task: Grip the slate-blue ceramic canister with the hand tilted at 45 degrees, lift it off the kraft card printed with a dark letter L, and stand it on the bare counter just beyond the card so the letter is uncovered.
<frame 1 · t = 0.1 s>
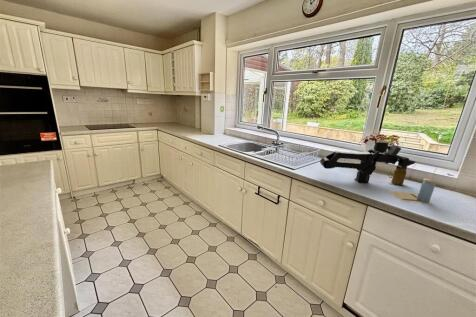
hand: (409, 160, 128), 17 cm above the worktop, tool horizontal, fingers open, 9 cm apart
canister: (422, 200, 110), point 1 cm above the worktop, touching card
condiment: (398, 184, 133), on the worktop
card: (409, 198, 114), on the worktop
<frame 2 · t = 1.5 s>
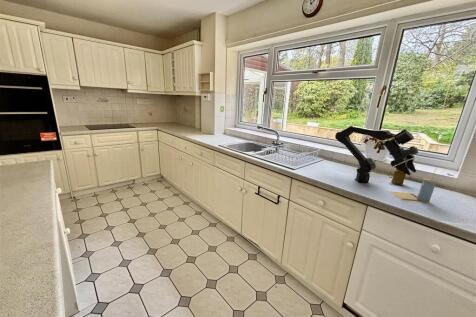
hand: (412, 173, 112), 14 cm above the worktop, tool tilted 45°, fingers open, 9 cm apart
nothing on the worktop moved.
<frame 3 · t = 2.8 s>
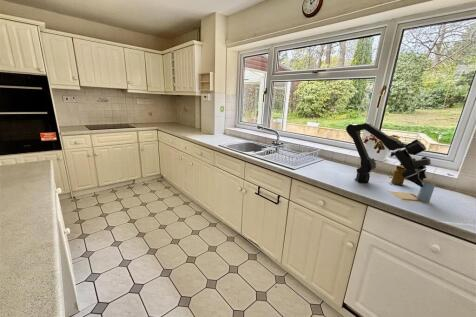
hand: (425, 185, 108), 9 cm above the worktop, tool tilted 45°, fingers open, 9 cm apart
nothing on the worktop moved.
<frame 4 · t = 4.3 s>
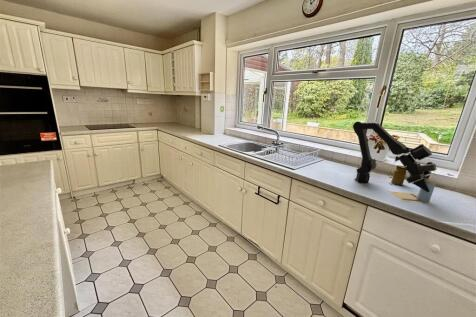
hand: (430, 190, 107), 7 cm above the worktop, tool tilted 45°, fingers closed on canister, 5 cm apart
canister: (422, 200, 110), point 1 cm above the worktop, touching card, gripper
everything else where it was.
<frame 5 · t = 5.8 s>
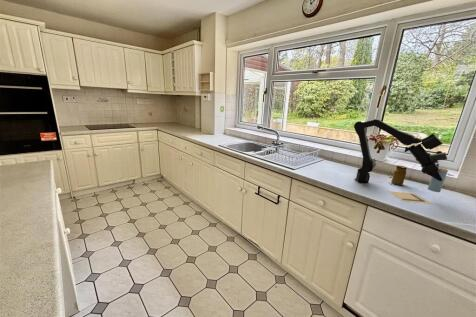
hand: (441, 179, 108), 13 cm above the worktop, tool tilted 45°, fingers closed on canister, 5 cm apart
canister: (433, 190, 110), point 6 cm above the worktop, touching gripper
everything else where it was.
when the fingers open (8 cm above the worktop, at t = 7.6 s): canister drops 1 cm, on the worktop.
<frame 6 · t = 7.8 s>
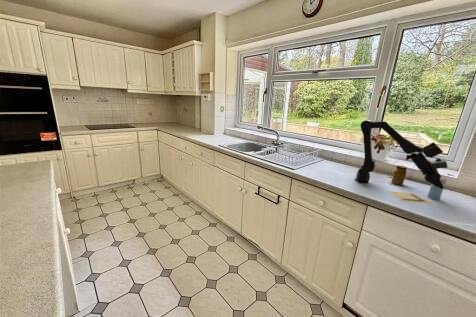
hand: (441, 186, 111), 8 cm above the worktop, tool tilted 45°, fingers open, 7 cm apart
canister: (433, 198, 114), on the worktop
everything else where it was.
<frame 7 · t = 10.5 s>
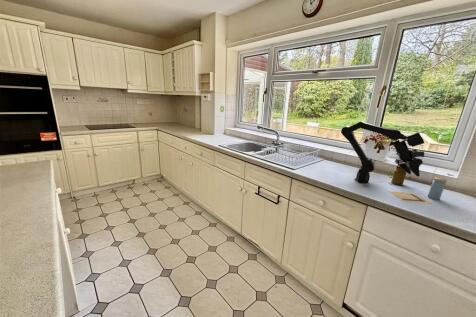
hand: (414, 175, 118), 11 cm above the worktop, tool tilted 35°, fingers open, 9 cm apart
nothing on the worktop moved.
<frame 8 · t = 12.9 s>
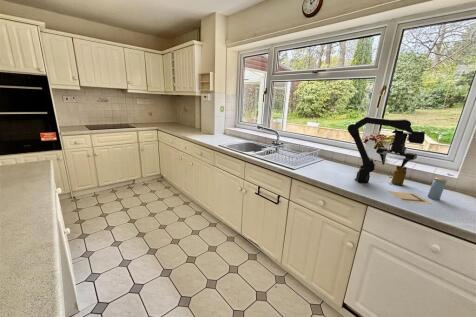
hand: (391, 166, 124), 13 cm above the worktop, tool pointing down, fingers open, 9 cm apart
nothing on the worktop moved.
at the end: canister inside the target area (0.1 cm from its centre), on the worktop; canister touching worktop; canister tilted 1° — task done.
